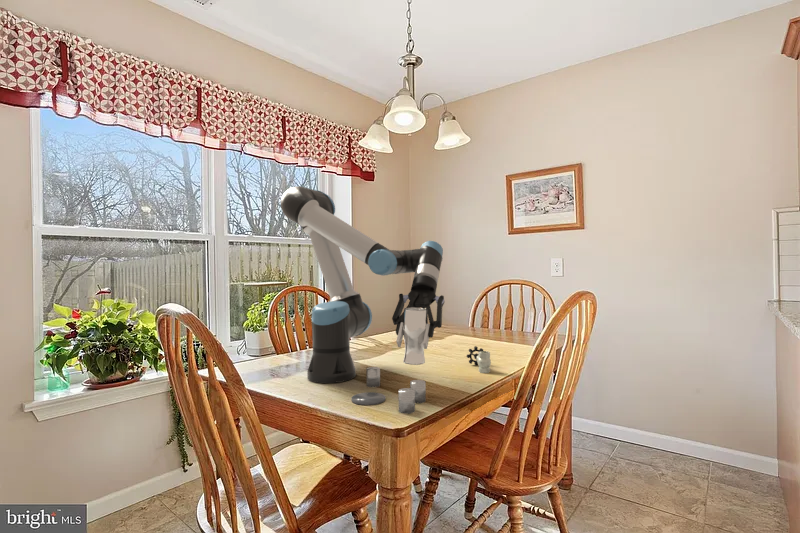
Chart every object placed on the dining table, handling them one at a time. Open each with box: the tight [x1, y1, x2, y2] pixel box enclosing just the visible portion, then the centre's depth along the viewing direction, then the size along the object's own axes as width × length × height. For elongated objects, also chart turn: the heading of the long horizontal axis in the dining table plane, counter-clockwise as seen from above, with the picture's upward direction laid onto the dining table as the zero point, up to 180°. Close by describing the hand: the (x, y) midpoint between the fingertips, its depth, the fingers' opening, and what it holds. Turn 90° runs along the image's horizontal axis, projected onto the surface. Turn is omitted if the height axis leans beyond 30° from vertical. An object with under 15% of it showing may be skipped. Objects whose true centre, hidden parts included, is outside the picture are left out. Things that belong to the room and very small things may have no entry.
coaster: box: [350, 391, 386, 406], centre depth 116 cm, size 9×9×1 cm
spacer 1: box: [365, 366, 381, 388], centre depth 130 cm, size 4×4×5 cm
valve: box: [466, 345, 492, 374], centre depth 147 cm, size 7×7×12 cm
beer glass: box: [403, 307, 429, 366], centre depth 123 cm, size 7×7×15 cm
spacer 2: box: [397, 387, 416, 415], centre depth 107 cm, size 4×4×5 cm
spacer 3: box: [409, 379, 427, 404], centre depth 115 cm, size 4×4×5 cm
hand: (411, 345), depth 120 cm, fingers closed on beer glass, 7 cm apart
